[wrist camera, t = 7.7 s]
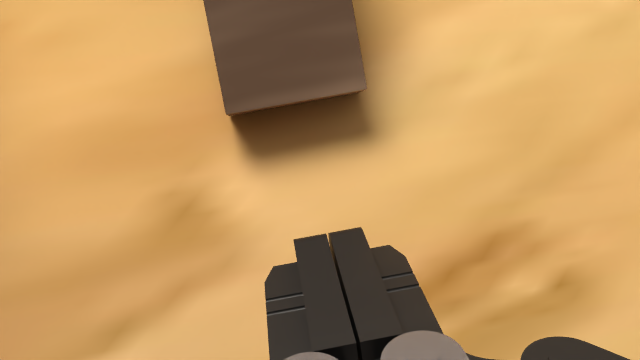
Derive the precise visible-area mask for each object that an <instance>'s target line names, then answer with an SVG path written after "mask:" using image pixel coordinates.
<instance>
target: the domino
mask: <svg viewBox="0 0 640 360" xmlns="http://www.w3.org/2000/svg"><path fill="white" fill-rule="evenodd" d="M203 1H204V6H205V11H206V16H207V21H208V26H209V31H210V36H211V41H212V46H213V51H214V56H215V61H216V66H217V71H218V76H219V81H220V86H221V91H222V96H223V102H224V107H225V112H226V115H228V116H232V115H238V114H243V113H249V112H254V111H260V110H265V109H271V108H276V107H282V106H288V105H293V104H299V103H304V102H310V101H315V100H321V99H326V98H332V97H337V96H343V95H348V94H354V93H359V92H361V91H364V90H366V89H367V86H366V80H365V74H364V68H363V62H362V57H361V51H360V45H359V39H358V34H357V28H356V22H355V16H354V10H353V5H352V0H203Z"/></svg>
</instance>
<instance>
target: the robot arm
mask: <svg viewBox="0 0 640 360" xmlns="http://www.w3.org/2000/svg"><path fill="white" fill-rule="evenodd" d="M328 235H329V242H328V239H327V235H326V234H321V235H316V236H310V237H305V238H299V239H294V245H295V251H296V257H297V262H295V263H290V264H284V265H279V266H273V268H272V270H271V272H270V273H269V275H268V277H267V279H266V281H265V296H266V311H267V326H268V341H269V355H270V360H494V359H485V358H480V357H476V356H473V355H470V354H467V353H465V352H464V350H463V349H462V347H461V346H460V345H459V344H458V343H457V342H456V341H455V340H453V339H452V338H450V337H448V336H446V335H444V334H443V332H442V330H441V328H440V326H439V324H438V322H437V320H436V318H435V316H434V314H433V312H432V310H431V308H430V306H429V304H428V302H427V300H426V298H425V296H424V294H423V291H422V289H421V287H419V283H418V281H417V279H416V277H415V275H414V274H413V271H412V269H411V267H410V265H409V263H408V261H407V259H406V257H405V256H404V255H403V254H401V253H400V252H398V251H397V250H396V249H394V248H393V247H391V246H390V245H386V246H381V247H376V248H370V247H369V245H368V242H367V240H366V237H365V235H364V232H363V230H362V228H361V227H359V228H353V229H348V230H342V231H337V232H331V233H329V234H328ZM329 244H330V246H329ZM521 360H630V359H627V358H625V357H622V356H620V355H617V354H615V353H612V352H610V351H607V350H605V349H602V348H600V347H597V346H595V345H592V344H590V343H587V342H585V341H582V340H579V339H574V338H569V337H547V338H543V339H540V340H537V341H535V342H533V343H532V344H530V345H529V346H528V347H527V348H526V349H525V350H524V352H523V353H522V356H521Z"/></svg>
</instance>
